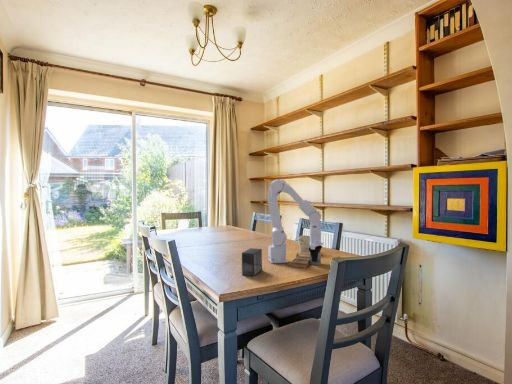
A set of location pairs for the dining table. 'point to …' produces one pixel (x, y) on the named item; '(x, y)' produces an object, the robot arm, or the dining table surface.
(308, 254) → the board
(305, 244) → the mug
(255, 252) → the small box
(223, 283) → the dining table surface
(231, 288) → the dining table surface
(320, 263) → the gauge
